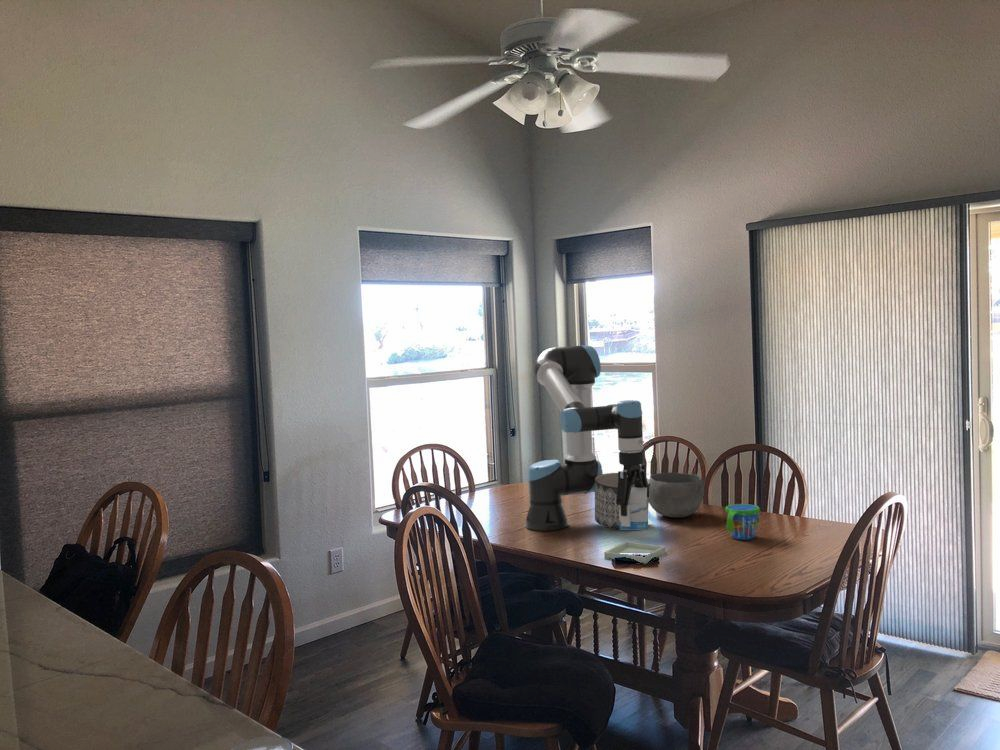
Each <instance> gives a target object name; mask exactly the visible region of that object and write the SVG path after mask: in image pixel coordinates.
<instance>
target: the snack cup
mask: <svg viewBox="0 0 1000 750" xmlns="http://www.w3.org/2000/svg"><path fill="white" fill-rule="evenodd" d="M725 512H726V513H727V518H726V524H725V525H726V527H725V528H726V530H727V532H730V535H731V537H732V538H734V539H736V540H741V541H747V540H753V539H755V538H756V534H757V528H758V527H757V526H758V524H759V523H760V515H759V513H760V512H761V508H760V506H758V505H755V504H749V503H747V504H746V503H735V504H729V505H726V506H725Z"/></svg>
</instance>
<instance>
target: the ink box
mask: <svg viewBox="0 0 1000 750" xmlns="http://www.w3.org/2000/svg"><path fill="white" fill-rule="evenodd" d="M628 505H630V527H626V526H621V508H620V505H619V524H620V531H638V530H639V531H641V530H642V531H645V530H646V531H647V530H648V529H649V528H648V527H649V504H647V488H646V487H643V488H639V487H631V492H630V497H629V501H628Z"/></svg>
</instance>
